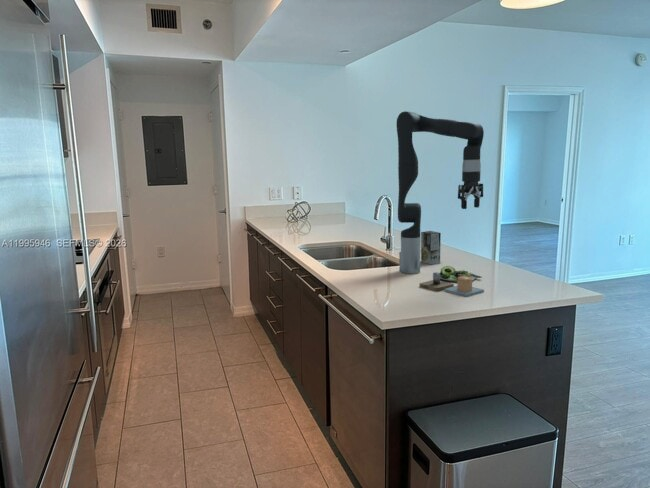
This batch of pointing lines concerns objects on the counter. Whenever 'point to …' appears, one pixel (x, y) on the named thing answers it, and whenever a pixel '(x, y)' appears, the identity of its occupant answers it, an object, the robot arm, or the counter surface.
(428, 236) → the coffee box
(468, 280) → the cap
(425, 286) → the post stand
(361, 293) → the counter surface
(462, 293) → the tile
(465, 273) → the salad plate
